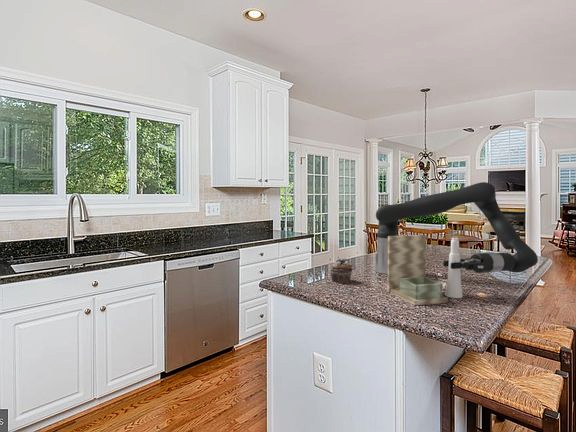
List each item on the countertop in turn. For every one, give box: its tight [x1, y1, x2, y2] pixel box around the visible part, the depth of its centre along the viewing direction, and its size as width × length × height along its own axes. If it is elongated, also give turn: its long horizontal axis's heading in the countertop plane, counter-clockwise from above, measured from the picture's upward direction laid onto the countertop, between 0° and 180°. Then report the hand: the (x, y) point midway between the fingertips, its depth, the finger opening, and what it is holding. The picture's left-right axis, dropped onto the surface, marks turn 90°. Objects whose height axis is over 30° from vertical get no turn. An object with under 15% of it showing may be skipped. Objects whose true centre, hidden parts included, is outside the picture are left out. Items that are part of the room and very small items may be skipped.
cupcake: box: [329, 258, 353, 284], centre depth 159 cm, size 10×10×10 cm
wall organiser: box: [386, 234, 448, 306], centre depth 134 cm, size 16×18×22 cm
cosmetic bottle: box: [444, 237, 463, 299], centre depth 134 cm, size 6×6×22 cm
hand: (447, 264), depth 134 cm, fingers closed on cosmetic bottle, 3 cm apart
